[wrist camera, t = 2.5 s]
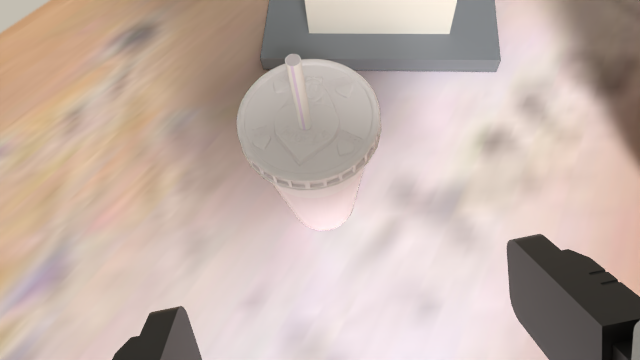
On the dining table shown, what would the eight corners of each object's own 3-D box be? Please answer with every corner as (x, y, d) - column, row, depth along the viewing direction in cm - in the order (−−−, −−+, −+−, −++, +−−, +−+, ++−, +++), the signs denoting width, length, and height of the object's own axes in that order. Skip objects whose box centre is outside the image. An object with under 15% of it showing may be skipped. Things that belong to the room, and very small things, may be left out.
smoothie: (262, 246, 29) (186, 117, 16) (280, 152, 32) (226, -22, 19) (371, 258, 28) (379, 131, 16) (380, 160, 31) (393, -16, 18)
